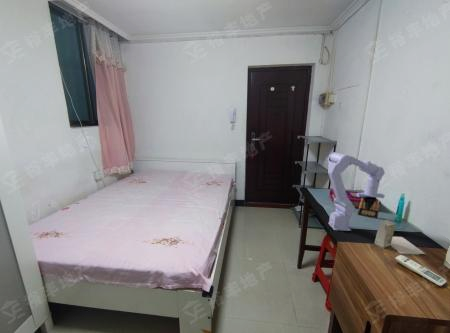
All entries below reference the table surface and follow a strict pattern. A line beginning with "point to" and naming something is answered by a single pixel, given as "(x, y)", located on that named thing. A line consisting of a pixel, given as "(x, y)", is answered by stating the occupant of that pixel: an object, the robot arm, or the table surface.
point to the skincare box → (385, 233)
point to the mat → (404, 246)
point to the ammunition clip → (366, 212)
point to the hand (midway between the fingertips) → (367, 208)
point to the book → (351, 198)
